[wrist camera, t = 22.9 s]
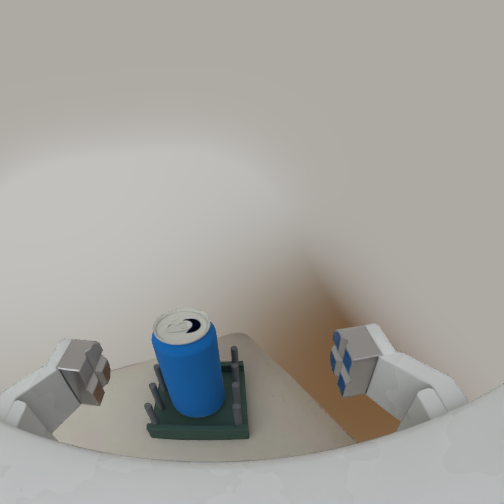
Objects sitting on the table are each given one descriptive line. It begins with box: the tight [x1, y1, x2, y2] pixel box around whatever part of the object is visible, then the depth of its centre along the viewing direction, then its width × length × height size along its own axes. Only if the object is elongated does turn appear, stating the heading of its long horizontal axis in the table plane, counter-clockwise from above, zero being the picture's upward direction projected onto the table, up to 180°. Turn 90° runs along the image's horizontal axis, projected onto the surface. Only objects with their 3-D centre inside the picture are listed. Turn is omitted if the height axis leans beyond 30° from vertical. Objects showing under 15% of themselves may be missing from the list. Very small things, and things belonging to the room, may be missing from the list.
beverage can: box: [152, 308, 225, 418], centre depth 29 cm, size 6×6×12 cm
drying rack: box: [144, 346, 249, 440], centre depth 31 cm, size 11×11×6 cm
